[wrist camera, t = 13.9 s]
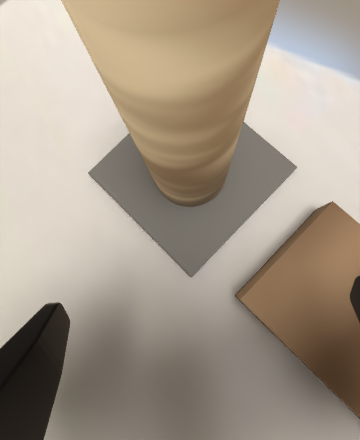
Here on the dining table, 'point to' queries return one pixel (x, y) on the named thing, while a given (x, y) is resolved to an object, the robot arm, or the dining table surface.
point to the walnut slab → (315, 299)
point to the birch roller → (179, 80)
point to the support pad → (198, 215)
